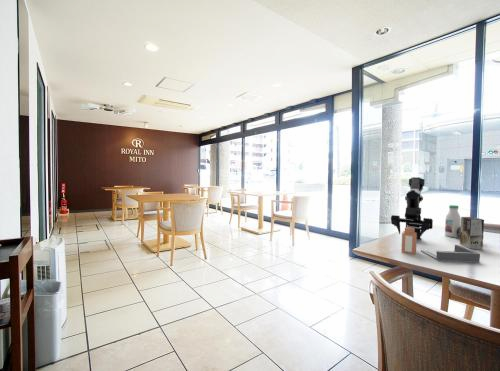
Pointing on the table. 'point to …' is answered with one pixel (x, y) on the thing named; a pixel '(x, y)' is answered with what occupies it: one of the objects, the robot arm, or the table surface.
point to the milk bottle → (452, 221)
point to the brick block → (409, 241)
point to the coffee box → (472, 232)
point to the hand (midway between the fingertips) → (409, 234)
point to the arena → (455, 255)
